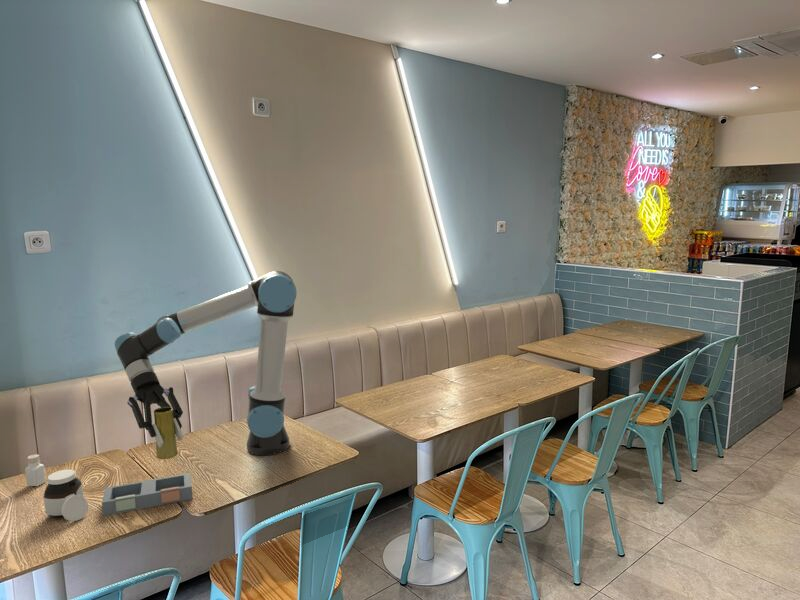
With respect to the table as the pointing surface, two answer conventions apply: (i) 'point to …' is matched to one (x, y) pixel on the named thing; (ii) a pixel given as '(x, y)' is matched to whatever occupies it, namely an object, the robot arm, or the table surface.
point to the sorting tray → (146, 494)
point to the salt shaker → (35, 471)
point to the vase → (166, 433)
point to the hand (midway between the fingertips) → (171, 441)
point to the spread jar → (65, 496)
